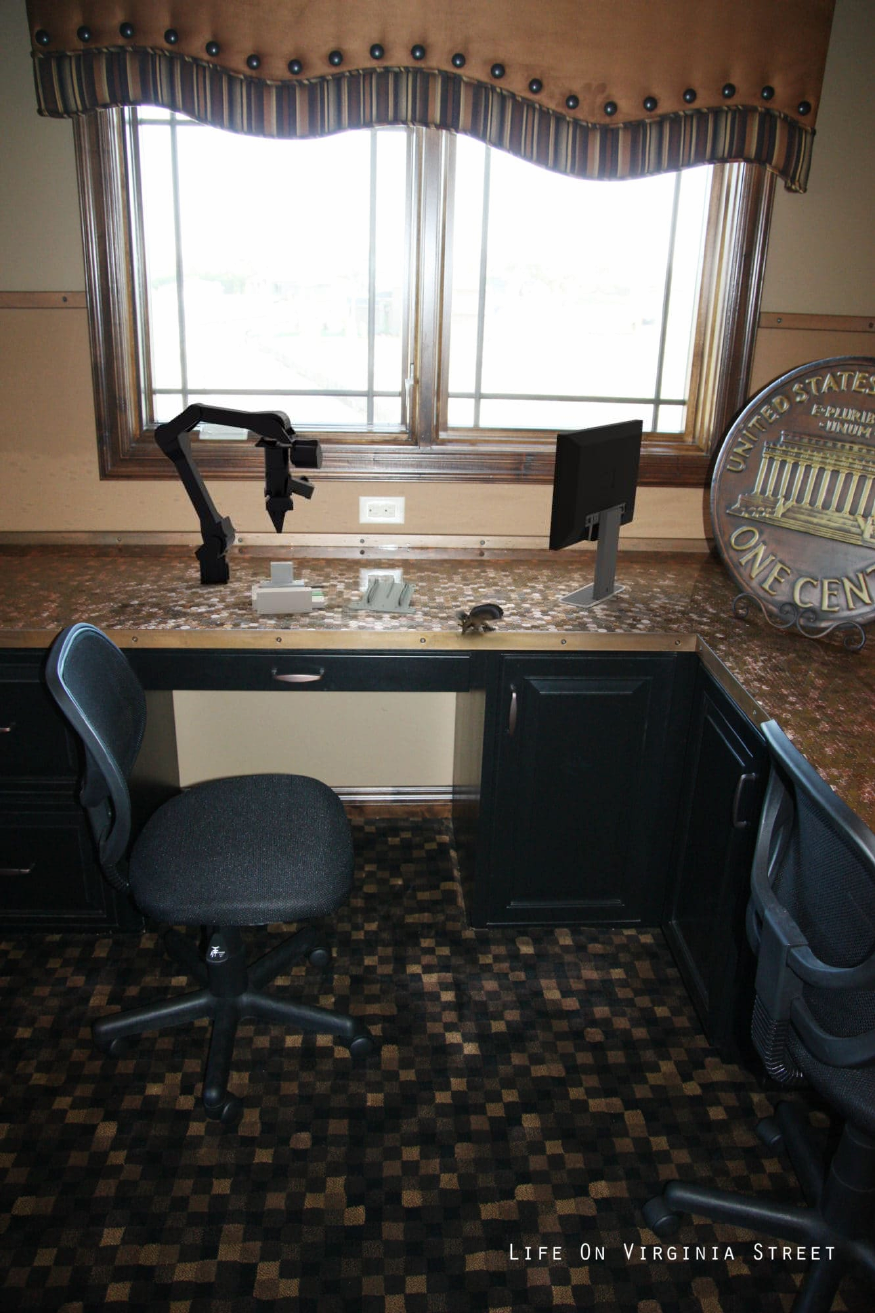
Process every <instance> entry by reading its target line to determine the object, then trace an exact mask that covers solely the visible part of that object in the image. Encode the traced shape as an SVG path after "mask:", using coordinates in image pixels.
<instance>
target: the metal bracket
mask: <svg viewBox="0 0 875 1313" xmlns="http://www.w3.org/2000/svg"><path fill="white" fill-rule="evenodd" d="M395 580H396V579H395V577H393V578H392V580H391V582H388V581H380V579H379V577H378V578H376V577H375V578H374V580H370V582H369V584H368V586H367V588H366V590H365V592H364V594H363V597H362V599H361V600H360V601H351V602H350V605H349V608H348V609H349V610H352V611H361V610H369V611H368V612H376V613H377V612H379V613H387V612H391V613H390V614H399V615H405V614H414V615H415V613H416V611H417V607H416V606H411V605H410V603H411V601H412V598H413V595H414V593H415V590H416V587H417V584H414V583H410V581H409V580H404V583H403V582H396V581H395ZM409 605H410V606H409Z"/></svg>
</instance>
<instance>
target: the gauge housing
mask: <svg viewBox="0 0 875 1313" xmlns="http://www.w3.org/2000/svg"><path fill="white" fill-rule="evenodd" d="M251 598H252V599H251V602H252V603H251V605H252V611H257V615H276V614H278V615H279V614H305V613H313V609H325V608H326V607H325V606H326V604H325V603H326V601H325V598H324V593H323V589H322V588H317V589H311V587H293V588H261V587H260V588H259V584H258V585H251Z"/></svg>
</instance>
